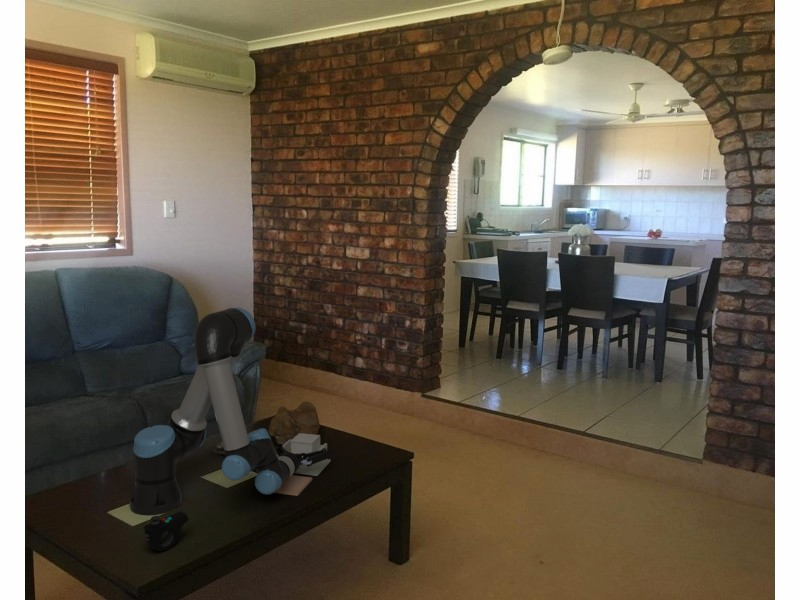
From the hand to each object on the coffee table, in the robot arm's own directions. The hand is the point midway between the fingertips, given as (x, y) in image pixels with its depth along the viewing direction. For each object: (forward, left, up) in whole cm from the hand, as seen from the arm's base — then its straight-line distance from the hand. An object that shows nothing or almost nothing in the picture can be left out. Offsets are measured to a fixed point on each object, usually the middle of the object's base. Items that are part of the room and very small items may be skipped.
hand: (308, 444), depth 235 cm
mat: (-2, 0, -7) cm, 7 cm away
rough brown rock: (+19, +11, -7) cm, 23 cm away
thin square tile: (-19, 0, -7) cm, 21 cm away
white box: (-2, 0, -6) cm, 7 cm away
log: (+2, +33, -8) cm, 34 cm away
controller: (-65, +15, -7) cm, 68 cm away
